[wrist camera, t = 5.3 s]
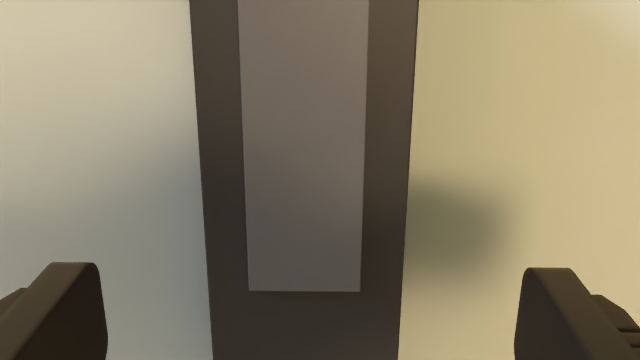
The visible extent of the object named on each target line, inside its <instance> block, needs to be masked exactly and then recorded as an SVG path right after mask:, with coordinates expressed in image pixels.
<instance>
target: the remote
mask: <svg viewBox="0 0 640 360" xmlns="http://www.w3.org/2000/svg"><path fill="white" fill-rule="evenodd" d="M189 3H190V19H191V34H192V49H193V64H194V79H195V94H196V109H197V125H198V140H199V155H200V170H201V185H202V200H203V215H204V231H205V246H206V261H207V276H208V291H209V306H210V321H211V337H212V352H213V360H398V347H399V330H400V313H401V296H402V279H403V262H404V245H405V228H406V211H407V194H408V177H409V160H410V143H411V126H412V109H413V92H414V75H415V58H416V41H417V24H418V7H419V0H189Z"/></svg>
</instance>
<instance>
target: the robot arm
mask: <svg viewBox="0 0 640 360" xmlns="http://www.w3.org/2000/svg"><path fill="white" fill-rule="evenodd" d="M107 347H108V333H107V325H106V318H105V311H104V304H103V297H102V289H101V282H100V276H99V271H98V268H97V266H96V265H95V264H94V263H87V262H52V263H50V264H49V265H48V266H47V267H46V268H45V269H44V270H43V271H42V272H41V274H40V275H39V276H38V277H37V278H36V279H35V280H34V281H33V282H32V283H31V285H30V286H29V287H28V288H20V289H18V290H17V291H15V292H13V293H11V294H10V295H8V296H6V297H4V298H3V299H1V300H0V360H105V359H106V354H107ZM514 354H515V360H640V328H639V326H638V325H637V324H636V323H635V322H634V320H633V319H632V318H631V317H630V316H629V314H628V313H627V312H626V311H625V310H624V309H622V308H620V307H619V306H617V305H616V304H614V303H613V302H611V301H610V300H608V299H606V298H605V297H603V296H602V295H591V294H590V293H589V291H588V290H587V289H586V287H585V286H584V285H583V284H582V282H581V281H580V280H579V278H578V277H577V276H576V274H575V273H574V272H573V271H572V270H571V269H570V268H527V269H526V271H525V272H524V275H523V280H522V286H521V294H520V301H519V309H518V316H517V324H516V331H515V340H514Z"/></svg>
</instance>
